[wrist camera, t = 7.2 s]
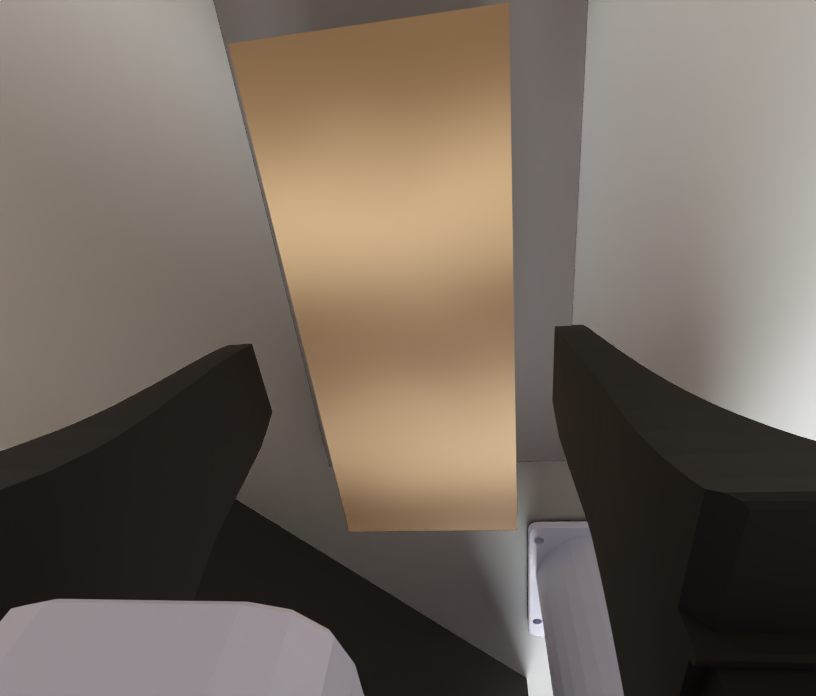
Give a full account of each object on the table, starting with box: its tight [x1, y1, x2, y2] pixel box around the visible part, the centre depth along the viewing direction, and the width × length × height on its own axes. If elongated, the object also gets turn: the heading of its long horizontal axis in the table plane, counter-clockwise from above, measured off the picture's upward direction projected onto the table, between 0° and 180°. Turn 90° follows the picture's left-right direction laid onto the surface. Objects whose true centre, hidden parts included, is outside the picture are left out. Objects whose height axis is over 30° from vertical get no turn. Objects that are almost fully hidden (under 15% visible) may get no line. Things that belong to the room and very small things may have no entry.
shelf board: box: [228, 3, 517, 531], centre depth 14 cm, size 14×6×4 cm, turn 7°
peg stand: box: [213, 0, 588, 466], centre depth 18 cm, size 20×11×4 cm, turn 6°
